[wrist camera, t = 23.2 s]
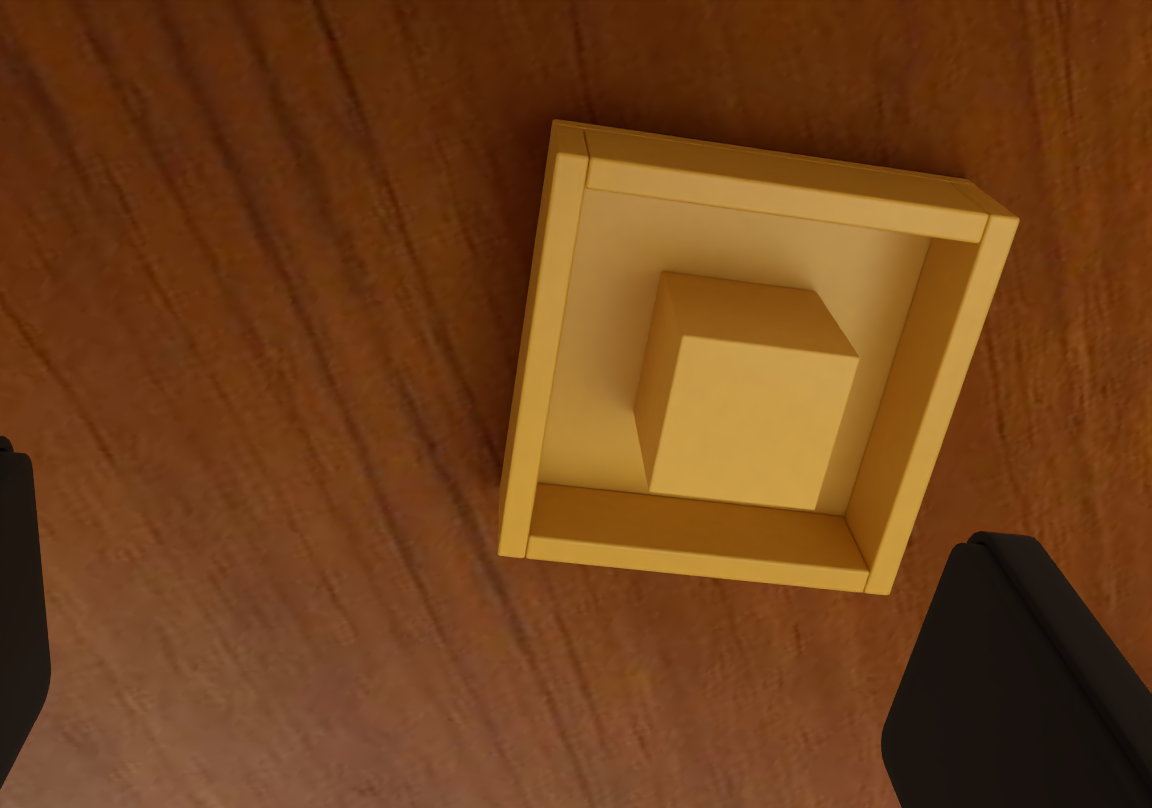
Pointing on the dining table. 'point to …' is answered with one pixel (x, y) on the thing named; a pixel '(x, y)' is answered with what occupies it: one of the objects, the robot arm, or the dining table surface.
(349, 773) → the dining table surface
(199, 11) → the dining table surface
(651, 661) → the dining table surface
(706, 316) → the mustard block
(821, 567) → the mustard bin
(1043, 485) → the dining table surface
